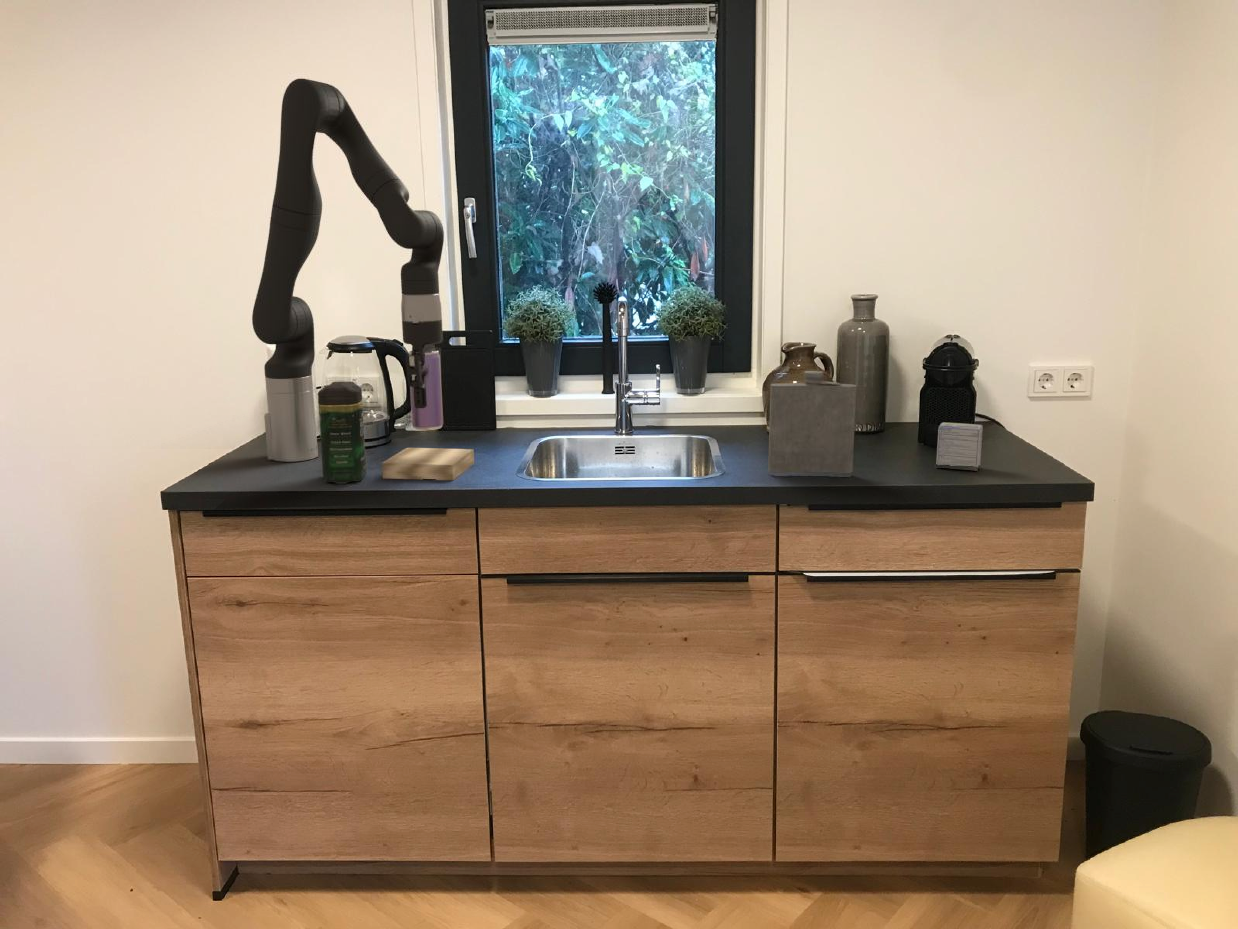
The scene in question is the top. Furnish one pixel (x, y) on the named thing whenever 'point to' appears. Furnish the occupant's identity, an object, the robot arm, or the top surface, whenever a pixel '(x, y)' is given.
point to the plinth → (428, 463)
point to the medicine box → (959, 444)
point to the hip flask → (811, 426)
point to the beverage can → (429, 396)
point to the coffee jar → (342, 432)
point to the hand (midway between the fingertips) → (426, 404)
